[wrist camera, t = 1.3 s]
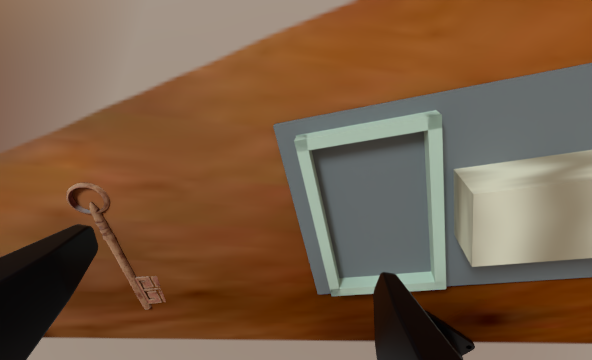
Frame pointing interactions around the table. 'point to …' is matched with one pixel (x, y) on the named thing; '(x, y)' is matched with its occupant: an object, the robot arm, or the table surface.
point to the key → (117, 247)
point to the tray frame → (435, 196)
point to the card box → (525, 210)
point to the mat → (412, 174)
